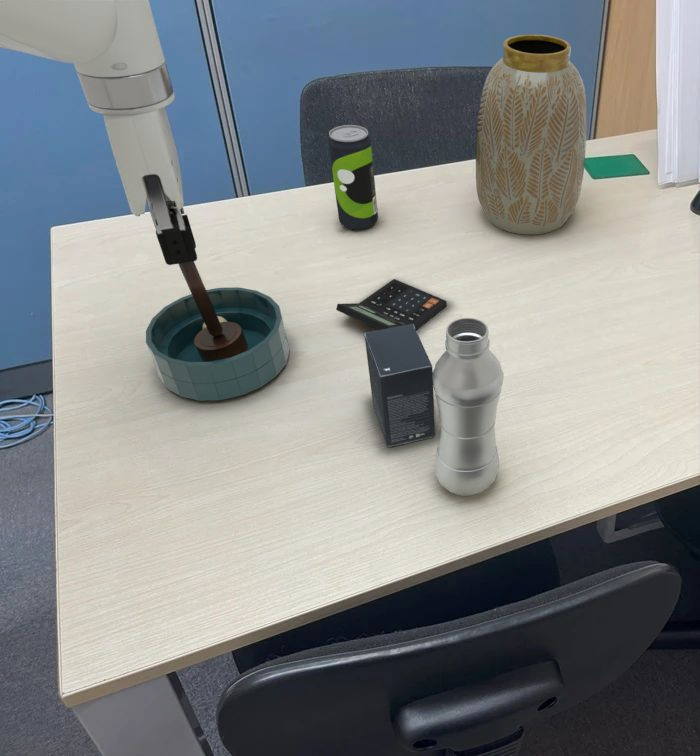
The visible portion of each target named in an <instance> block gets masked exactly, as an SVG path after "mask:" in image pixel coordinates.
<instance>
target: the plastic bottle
mask: <svg viewBox="0 0 700 756" xmlns="http://www.w3.org/2000/svg"><path fill="white" fill-rule="evenodd" d="M445 329H446V330H445V344H444V346H445V351H444V352H443V354H441V356H440V357H439V358H438V360H437V361H436V363H435V365H434V367H433V370H432V371H433V375H432V379H433V392H434V396H435V399H436V404H437V410H438V418H439V436H438V446H437V449H436V452H435V456H434V457H435V458H434V466H433V467H434V470H435V474H436V477H437V481H438V483H439V484H440V485H441V486H442V487H443V488H444V489H445V490H446V491H448V492H450V493H452V494H454V495H457V496H461V497H462V496H463V497H470V496H476V495H478V494H480V493H482V492H484V491H486V490H487V489H488V488H490V487H491V486H492V485H493V484H494V482H495V480H496V478H497V475H498V472H499V470H500V469H499V468H500V457H499V451H498V448H497V447H498V446H497V441H496V418H497V410H498V405H499V400H500V396H501V392H502V388H503V383H504V371H503V368H502V365H501V362H500V360H499V359H498V357H496V356H495V354H494V353H493V352H492V350H490V338H489V328H488V325H487V324H486V323H485V322H484V321H482V320H481V319H478V318H473V317H461V318H458V319H455V320H453V321H451V322H450V323H449V324H448V325H447V327H446V328H445Z"/></svg>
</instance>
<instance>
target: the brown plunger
mask: <svg viewBox="0 0 700 756" xmlns="http://www.w3.org/2000/svg"><path fill="white" fill-rule="evenodd" d="M169 213H170V214H173V212H169ZM178 266H179V269H180V271H181V274H182V276H183V278H184V281H185V282H186V285H187V287H188V289H189V291H190V294H192V296H193V298H194V300H195V302H196V305H197V307H198V309H199V311H200V314H201V316H202V318H203V320H204V323H205V325H206V328H204V329H203V330H201V331H200V332H199V333H198V334H197V335H196V337H195V339H194V344H195V346H196V348H197V350H198V352H199V355H200V357H201V359H202V361H203V362H211V361H216V360H221V359H226V358H231V357H233V356H236V355H238V354H241V353H243V352H246V351H247V349H248V344H247V341H246V339H245V336H244V334H243V331H242V329H241V327H240V326H239V325H238V324H237V323H234V322H220V321H219V319H218V317H217V314H216V312H215V310H214V307H213V305H212V303H211V300H210V298H209V296H208V293H207V291H206V290H207V289H206V286H205V284H204V282H203V279H202V276H201V275H200V272H199V270H198V268H197V265H196V263H195V261H193V262H186V263H180V264H178Z"/></svg>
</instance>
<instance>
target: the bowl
mask: <svg viewBox="0 0 700 756" xmlns="http://www.w3.org/2000/svg"><path fill="white" fill-rule="evenodd" d="M206 291H207V293H208V296H209V298H210V300H211V303H212V305H213V307H214V310H215V312H216V314H217V316H220V317H223V318H224V319H226V320H227V322H234V323H237V324H238V325H239V326H240V327H241V329H242V331H243V334H244V336H245V339H246V341H247V344H248V349H247V351H246V352H243V353H241V354H238V355H236V356H233V357H231V358H226V359H221V360H216V361H211V362H203V361H202V359H201V357H200V355H199V352H198V350H197V348H196V346H195V344H194V339H195V337H196V335H197V334H198V333H199V332H200V331H201V330H203V324H204V320H203V318H202V316H201V314H200V311H199V309H198V307H197V305H196V302H195V300H194V298H193V296H192V294H191V293H190V294H188V295H185V296H181V297H179V298H178V299H176V300H174V301H173V302H171V303H169V304H167V305H165V306H164V307H163V308H162V309H160V311H159V312H157V313H156V314H155V315H154V316H153V317H152V318H151V320H150V322H149V324H148V326H147V327H146V329H145V344H146V347H147V349H148V351H149V354H150V357H151V359H152V361H153V364H154V366H155V369H156V371H157V375H158V377H159V379H160V380H161V382H162V384H163V385H164V386H165V388H166V389H167V390H169V391H171V392H172V393H174V394H176V395H177V396H179V397H182V398H185V399H186V398H187V399H189V400H190V399H191V400H195V401H199V402H200V401H222V400H227V399H232V398H237V397H241V396H244V395H247V394H249V393H252V392H254V391H256V390H258V389H260V388H262V387H264V386H265V385H267V384H268V383H269V382H270V381H272V380H273V379H275V378H276V377H277V376H279V374H280V373H281V371H282V370H283V369H284V367H285V366H286V365H287V363H288V359H289V358H288V357H289V354H290V347H289V343H288V338H287V333H286V329H285V324H284V320H283V316H282V312H281V308H280V306H279V304H278V303H277V302H276V301H275V300H274V299H273V298H272V297H271V296H269V295H267V294H264V293H263V292H261V291H258V290H255V289H250V288H244V287H237V286H235V287H234V286H233V287H216V288H210V289H209V288H208V289H206Z"/></svg>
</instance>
